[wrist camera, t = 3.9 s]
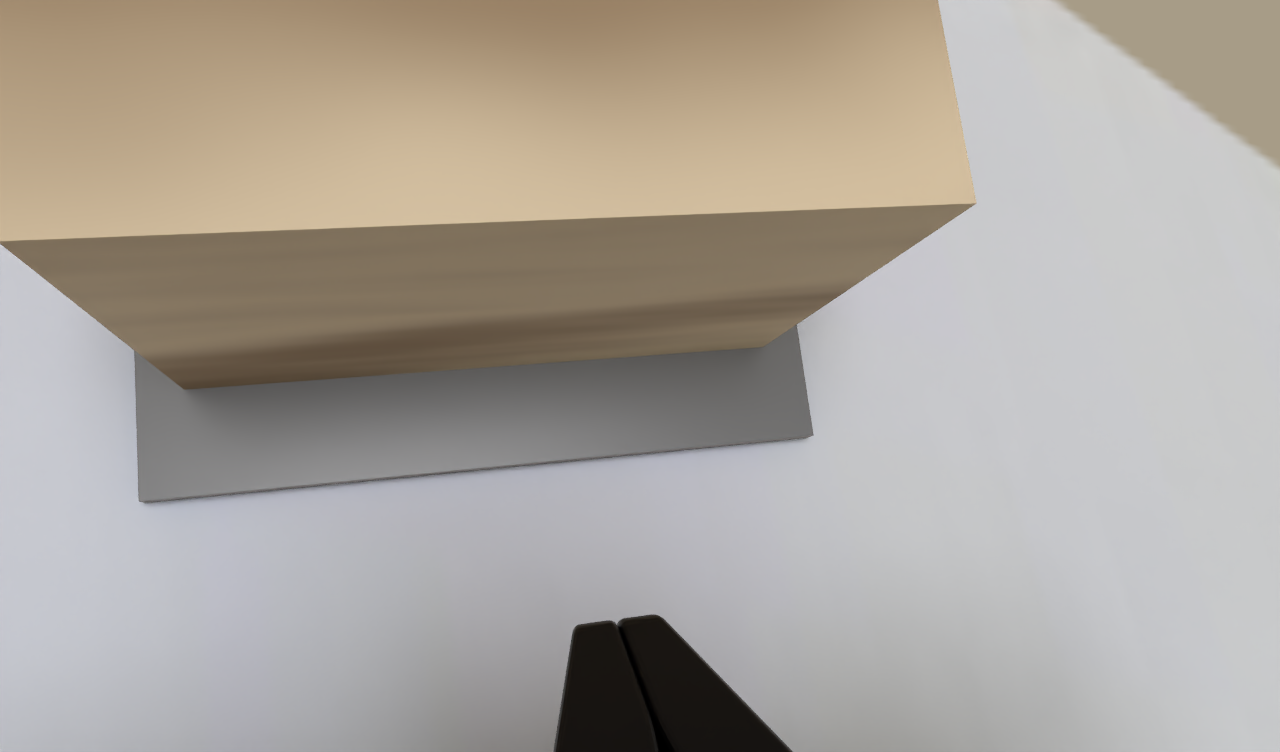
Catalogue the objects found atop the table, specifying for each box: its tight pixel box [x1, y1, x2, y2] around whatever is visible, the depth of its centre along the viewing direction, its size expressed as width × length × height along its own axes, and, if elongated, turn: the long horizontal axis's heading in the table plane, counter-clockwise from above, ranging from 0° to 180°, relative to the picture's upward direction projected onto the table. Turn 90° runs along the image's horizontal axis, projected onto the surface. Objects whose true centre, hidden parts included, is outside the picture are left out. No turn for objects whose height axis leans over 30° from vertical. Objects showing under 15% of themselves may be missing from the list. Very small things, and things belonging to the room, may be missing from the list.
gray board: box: [134, 325, 813, 503], centre depth 19 cm, size 12×13×1 cm
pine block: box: [0, 0, 976, 390], centre depth 15 cm, size 6×11×8 cm, turn 97°
